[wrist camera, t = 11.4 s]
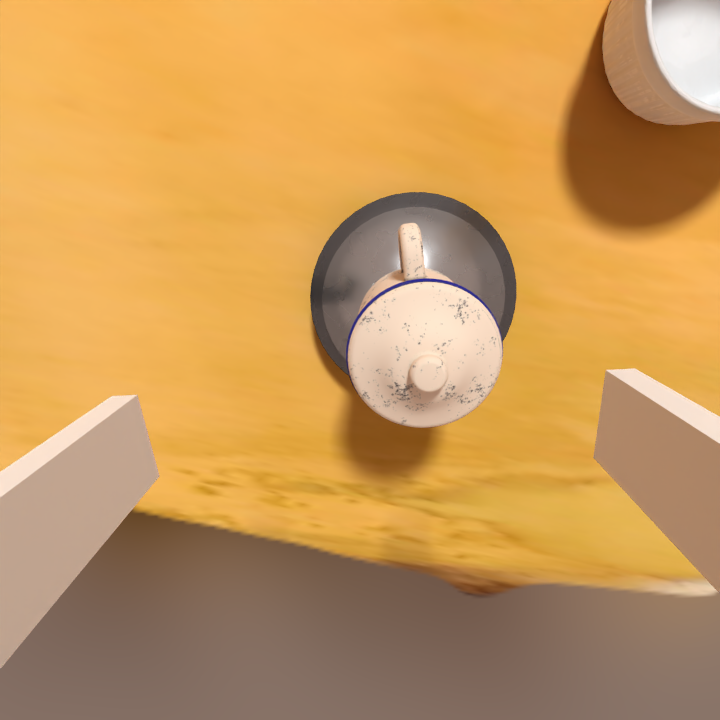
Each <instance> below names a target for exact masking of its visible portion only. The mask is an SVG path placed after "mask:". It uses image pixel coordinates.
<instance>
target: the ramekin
mask: <svg viewBox="0 0 720 720" xmlns="http://www.w3.org/2000/svg"><path fill="white" fill-rule="evenodd" d="M602 51H603V62H604V65H605V73H606V75H607V77H608V81H609V84H610V86H611V87H612V89H613V92H614V93H615V95H616V96H617V97H618V99H619V100H620V102H621V103H623V104H624V105H625V107H626V108H627V109H628V110H630V111H632V112H633V113H634V114H635V115H637V116H640V117H642V118H643V119H645V120H647V121H651V122H654V123H657V124H659V123H662V124H665V125H687V124H695V123H703V122H710V121H716V122H720V0H612V1H611V3H610V5H609V8H608V13H607V17H606V20H605V26H604V32H603V44H602Z"/></svg>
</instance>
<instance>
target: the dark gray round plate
mask: <svg viewBox="0 0 720 720" xmlns="http://www.w3.org/2000/svg"><path fill="white" fill-rule="evenodd" d="M407 223H415V224H417V225H418V226H419V228H420V232H421V237H422V244H423V252H424V264H425V268H428V269H432V270H435V271H437V272H440V273H442V274H443V275H445V276H447V277H448V278H449V279H451V280H452V281H453V282H454V283H455V284H458V285H460V286H462V287H464V288H466V289H468V290H470V291H471V292H473V293H474V294H475V295H477V296H478V297H479V298H480V299H481V300H482V301H483V302H484V303H485V304H486V305H487V306H488V308H489V309H490V311H491V312H492V313H493V315H494V317H495V319H496V321H497V323H498V326H499V329H500V332H501V336H502V342H503V340H504V338H505V337H506V335H507V332H508V330H509V327H510V325H511V322H512V318H513V314H514V310H515V303H516V279H515V272H514V267H513V264H512V260H511V257H510V254H509V252H508V250H507V248H506V246H505V243H504V242H503V240H502V239H501V237H500V236H499V234H498V233H497V231H496V230H495V229H494V228H493V227H492V225H491V224H490V223H489V222H488V221H487V220H486V219H485V218H484V217H482V216H481V215H480V214H479V213H478V212H476V211H475V210H473V209H472V208H470V207H469V206H467V205H466V204H463V203H461V202H459V201H457V200H455V199H452V198H449V197H446V196H442V195H439V194H432V193H424V192H409V193H402V194H395V195H391V196H388V197H385V198H381V199H379V200H376V201H374V202H372V203H370V204H368V205H366V206H364V207H363V208H361V209H359V210H358V211H356V212H355V213H353V214H352V215H351V216H350V217H349V218H347V219H346V220H345V221H344V222H343V223H342V224H341V225H340V226H339V227H338V228H337V229H336V230H335V231H334V233H333V234H332V235H331V237H330V238H329V240H328V241H327V243H326V244H325V246H324V248H323V250H322V252H321V254H320V256H319V258H318V261H317V264H316V266H315V269H314V274H313V278H312V283H311V295H310V297H311V311H312V317H313V322H314V325H315V328H316V332H317V334H318V337H319V339H320V341H321V343H322V345H323V347H324V348H325V350H326V351H327V353H328V355H329V356H330V357H331V358H332V360H333V361H334V362H335V363H336V364H337V366H339V367H340V368H341V369H342V370H343V371H344V372H345V373H346V374H347V375H349V373H348V369H347V363H346V347H347V341H348V336H349V333H350V330H351V328H352V325H353V323H354V321H355V319H356V318H357V316H358V313H359V309H360V306H361V303H362V301H363V298H364V297H365V295H366V293H367V292H368V291H369V289H370V288H371V287H372V286H373V285H374V284H375V283H376V282H377V281H378V280H379V279H381V278H382V277H384V276H385V275H387V274H389V273H391V272H393V271H396V270H399V269H401V267H400V256H399V243H398V230H399V228H400V226H401V225H403V224H407Z"/></svg>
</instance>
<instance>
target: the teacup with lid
mask: <svg viewBox="0 0 720 720" xmlns="http://www.w3.org/2000/svg"><path fill="white" fill-rule="evenodd" d="M398 243H399V256H400V267H401V269H399V270H396V271H393V272H391V273H389V274H387V275H385V276H384V277H382V278H381V279H379V280H378V281H377V282H376V283H375V284H374V285H373V286H372V287H371V288H370V289H369V291H368V292H367V293H366V295H365V297H364V298H363V301H362V303H361V306H360V309H359V313H358V316H357V318H356V319H355V321H354V323H353V325H352V328H351V330H350V333H349V336H348V341H347V347H346V363H347V369H348V373H349V377H350V380H351V382H352V384H353V386H354V388H355V390H356V392H357V393H358V395H359V396H360V397H361V399H362V400H363V401H364V402H365V403H366V404H367V405H368V406H369V407H370V408H371V409H372V410H373V411H375V412H376V413H377V414H379V415H380V416H382V417H383V418H385V419H387V420H389V421H392V422H394V423H397V424H400V425H404V426H409V427H418V428H427V427H436V426H441V425H445V424H448V423H451V422H454V421H456V420H458V419H460V418H462V417H464V416H466V415H467V414H469V413H470V412H472V411H473V410H474V409H475V408H477V407H478V406H479V405H480V404H481V403H482V402H483V401H484V399H485V398H486V397H487V396H488V394H489V393H490V392H491V390H492V388H493V387H494V385H495V383H496V381H497V378H498V375H499V373H500V369H501V364H502V357H503V342H502V336H501V332H500V329H499V326H498V323H497V321H496V319H495V317H494V315H493V313H492V312H491V311H490V309H489V308H488V306H487V305H486V304H485V303H484V302H483V301H482V300H481V299H480V298H479V297H478V296H477V295H475V294H474V293H473V292H471V291H470V290H468V289H466V288H464V287H462V286H460V285H458V284H455V283H454V282H453V281H452V280H451V279H449V278H448V277H447V276H445V275H443V274H442V273H440V272H437V271H435V270H432V269H428V268H425V264H424V252H423V244H422V237H421V232H420V228H419V226H418V225H417V224H415V223H407V224H403V225H401V226H400V228H399V230H398Z"/></svg>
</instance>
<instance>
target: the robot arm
mask: <svg viewBox="0 0 720 720" xmlns="http://www.w3.org/2000/svg"><path fill="white" fill-rule="evenodd" d="M594 459H595V460H596V461H597V462H598V463H599V464H600V465H601V466H602V467H603V469H604V470H605V471H606V472H607V473H608V474H609V475H610V476H611V477H612V478H613V479H614V480H615V481H616V482H617V484H618V485H619V486H620V487H621V488H622V489H623V490H624V491H625V492H626V493H627V494H628V495H629V496H630V498H631V499H632V500H633V501H634V502H635V503H636V504H637V505H638V506H639V507H640V508H641V509H642V510H643V512H644V513H645V514H646V515H647V516H648V517H649V518H650V519H651V520H652V521H653V522H654V523H655V524H656V526H657V527H658V528H659V529H660V530H661V531H662V532H663V533H664V534H665V535H666V536H667V537H668V538H669V540H670V541H671V542H672V543H673V544H674V545H675V546H676V547H677V548H678V549H679V550H680V551H681V552H682V554H683V555H684V556H685V557H686V558H687V559H688V560H689V561H690V562H691V563H692V564H693V565H694V566H695V567H696V569H697V570H698V571H699V572H700V573H701V574H702V575H703V576H704V577H705V578H706V579H707V580H708V581H709V583H710V584H711V585H712V586H713V587H714V588H715V589H716V590H717V591H718V592H719V593H720V417H719V416H717V415H716V414H714V413H712V412H710V411H709V410H707V409H705V408H703V407H701V406H700V405H698V404H696V403H694V402H693V401H691V400H689V399H687V398H686V397H684V396H682V395H680V394H679V393H677V392H675V391H673V390H672V389H670V388H668V387H666V386H665V385H663V384H661V383H659V382H657V381H656V380H654V379H652V378H650V377H649V376H647V375H645V374H643V373H642V372H640V371H638V370H636V369H619V370H606V373H605V380H604V387H603V394H602V401H601V408H600V415H599V422H598V429H597V437H596V444H595V451H594ZM158 477H159V473H158V469H157V465H156V462H155V458H154V454H153V451H152V447H151V443H150V440H149V436H148V432H147V429H146V425H145V421H144V418H143V414H142V410H141V407H140V403H139V399H138V396H137V395H126V396H111V397H110V398H108V399H107V400H105V401H104V402H102V403H101V404H99V405H98V406H96V407H95V408H94V409H92V410H91V411H89V412H88V413H86V414H85V415H83V416H82V417H80V418H79V419H77V420H76V421H74V422H73V423H71V424H70V425H69V426H67V427H66V428H64V429H63V430H61V431H60V432H58V433H57V434H55V435H54V436H52V437H51V438H49V439H48V440H46V441H45V442H44V443H42V444H41V445H39V446H38V447H36V448H35V449H33V450H32V451H30V452H29V453H27V454H26V455H24V456H23V457H21V458H20V459H18V460H17V461H16V462H14V463H13V464H11V465H10V466H8V467H7V468H5V469H4V470H2V471H1V472H0V668H1V667H2V666H3V665H4V664H5V662H6V661H7V660H8V659H9V657H10V656H11V655H12V654H13V653H14V651H15V650H16V649H17V648H18V647H19V645H20V644H21V643H22V642H23V641H24V639H25V638H26V637H27V636H28V635H29V633H30V632H31V631H32V630H33V628H34V627H35V626H36V625H37V624H38V622H39V621H40V620H41V619H42V618H43V616H44V615H45V614H46V613H47V611H48V610H49V609H50V608H51V606H52V605H53V604H54V603H55V602H56V601H57V599H58V598H59V597H60V596H61V594H62V593H63V592H64V591H65V590H66V588H67V587H68V586H69V585H70V584H71V583H72V581H73V580H74V579H75V578H76V576H77V575H78V574H79V573H80V572H81V570H82V569H83V568H84V567H85V565H86V564H87V563H88V562H89V561H90V559H91V558H92V557H93V556H94V555H95V553H96V552H97V551H98V550H99V549H100V547H101V546H102V545H103V544H104V543H105V541H106V540H107V539H108V538H109V537H110V535H111V534H112V533H113V532H114V531H115V529H116V528H117V527H118V526H119V524H120V523H121V522H122V521H123V520H124V518H125V517H126V516H127V515H128V514H129V512H130V511H131V510H132V509H133V508H134V506H135V505H136V504H137V503H138V502H139V500H140V499H141V498H142V497H143V495H144V494H145V493H146V492H147V491H148V489H149V488H150V487H151V486H152V485H153V483H154V482H155V481H156V480H157V479H158Z"/></svg>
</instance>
